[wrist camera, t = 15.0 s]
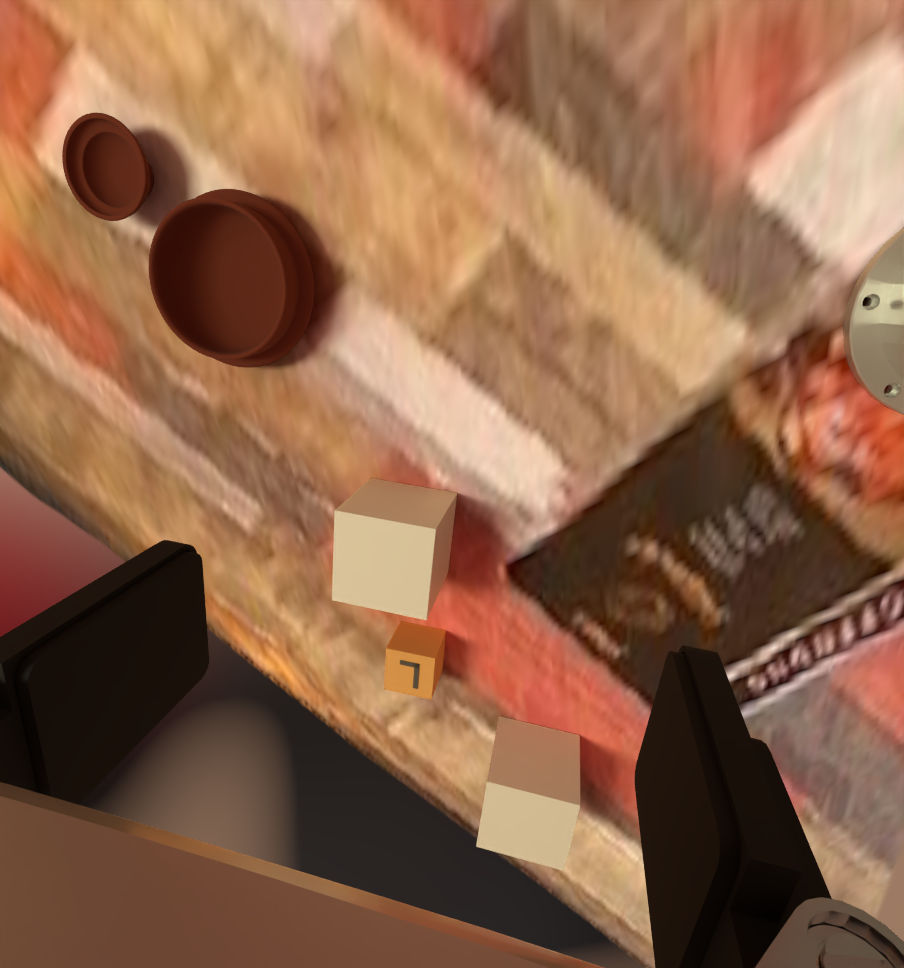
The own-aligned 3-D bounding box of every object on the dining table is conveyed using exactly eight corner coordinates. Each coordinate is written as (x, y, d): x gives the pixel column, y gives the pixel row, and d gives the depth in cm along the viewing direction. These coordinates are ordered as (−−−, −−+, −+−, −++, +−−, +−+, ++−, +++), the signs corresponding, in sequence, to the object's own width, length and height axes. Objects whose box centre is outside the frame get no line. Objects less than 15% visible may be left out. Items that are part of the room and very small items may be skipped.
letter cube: (446, 629, 47) (434, 659, 43) (442, 669, 48) (431, 700, 44) (401, 620, 47) (385, 648, 44) (398, 659, 49) (383, 690, 45)
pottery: (270, 395, 43) (238, 406, 39) (71, 214, 42) (16, 206, 38) (357, 274, 39) (331, 272, 35) (137, 67, 37) (83, 40, 33)
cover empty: (579, 735, 47) (580, 805, 41) (565, 795, 50) (563, 870, 43) (499, 715, 48) (487, 781, 42) (489, 775, 51) (476, 846, 44)
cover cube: (457, 492, 42) (435, 529, 36) (448, 572, 45) (426, 620, 38) (370, 477, 43) (334, 510, 37) (366, 556, 46) (331, 599, 39)
